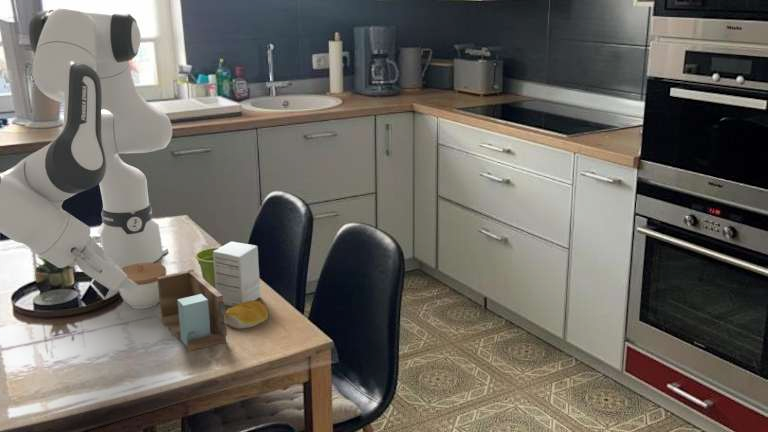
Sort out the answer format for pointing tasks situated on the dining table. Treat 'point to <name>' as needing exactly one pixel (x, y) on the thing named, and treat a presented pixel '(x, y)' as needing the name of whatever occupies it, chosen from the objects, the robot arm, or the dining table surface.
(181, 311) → the pale teal box
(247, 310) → the bread roll
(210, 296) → the carcass
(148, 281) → the lidded jar
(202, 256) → the plant pot
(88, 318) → the dining table surface
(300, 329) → the dining table surface
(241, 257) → the supplement box
